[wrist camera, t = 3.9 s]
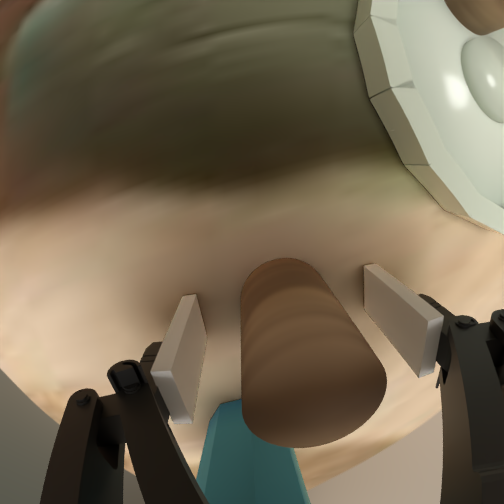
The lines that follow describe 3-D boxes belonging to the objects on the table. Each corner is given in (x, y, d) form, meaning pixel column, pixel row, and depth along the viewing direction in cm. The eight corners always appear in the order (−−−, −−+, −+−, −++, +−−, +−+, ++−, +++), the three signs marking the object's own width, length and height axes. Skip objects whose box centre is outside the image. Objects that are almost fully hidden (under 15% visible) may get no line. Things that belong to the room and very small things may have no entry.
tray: (318, -57, 10) (327, -79, 7) (512, 5, 10) (528, -1, 7) (385, 246, 15) (408, 259, 13) (554, 212, 15) (572, 217, 12)
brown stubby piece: (233, 266, 15) (227, 360, 7) (322, 251, 15) (392, 328, 7) (248, 341, 16) (254, 456, 9) (327, 327, 16) (378, 429, 9)
